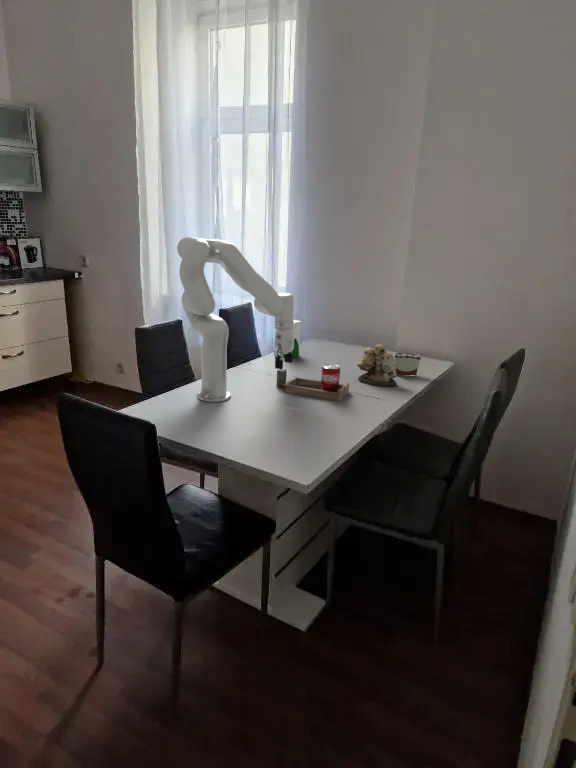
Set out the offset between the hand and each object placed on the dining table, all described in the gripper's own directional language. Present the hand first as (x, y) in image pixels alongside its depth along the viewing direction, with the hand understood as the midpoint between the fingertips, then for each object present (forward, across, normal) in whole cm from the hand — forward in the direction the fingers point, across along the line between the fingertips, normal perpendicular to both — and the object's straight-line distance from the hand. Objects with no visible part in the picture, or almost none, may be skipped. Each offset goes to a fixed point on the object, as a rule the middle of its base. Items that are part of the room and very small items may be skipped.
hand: (283, 365), depth 217 cm
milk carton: (+10, +47, +16) cm, 51 cm away
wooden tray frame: (+9, -1, -12) cm, 15 cm away
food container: (+11, +44, -42) cm, 62 cm away
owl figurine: (+11, +25, -33) cm, 43 cm away
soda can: (+10, -1, -20) cm, 23 cm away
